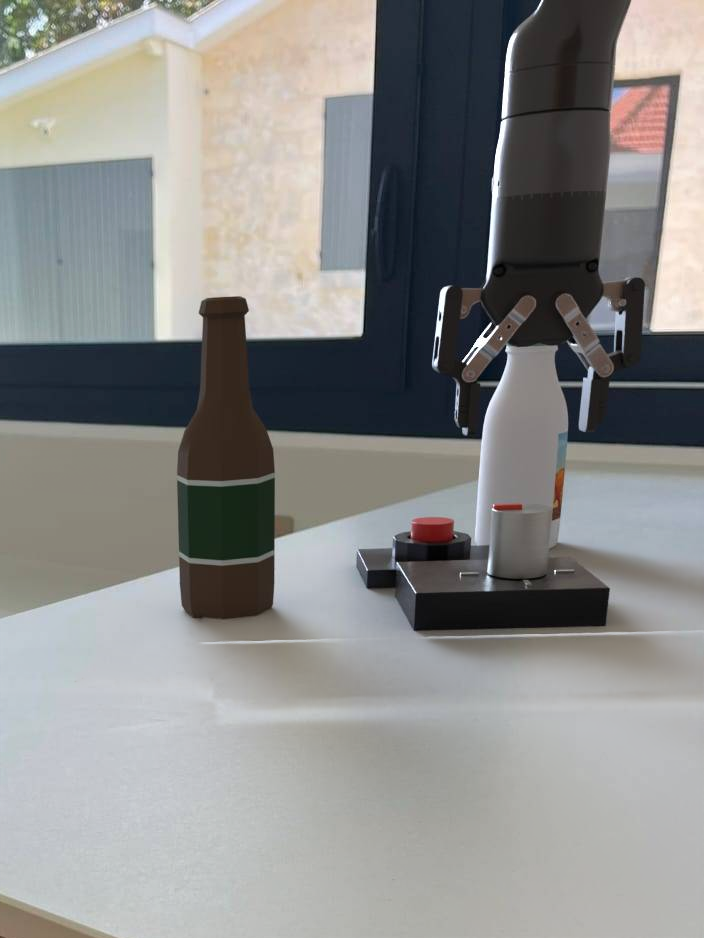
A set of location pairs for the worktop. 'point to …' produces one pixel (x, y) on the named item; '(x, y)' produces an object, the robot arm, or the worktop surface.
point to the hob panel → (498, 596)
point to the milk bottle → (524, 439)
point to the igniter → (413, 556)
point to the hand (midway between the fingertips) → (528, 432)
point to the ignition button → (432, 529)
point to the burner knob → (519, 540)
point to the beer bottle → (225, 480)
